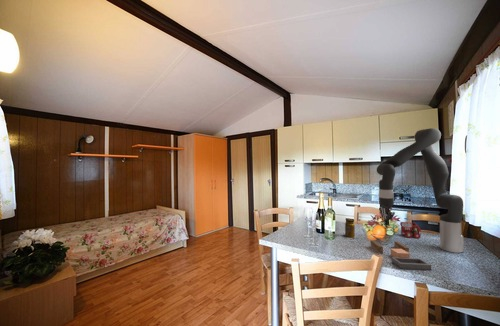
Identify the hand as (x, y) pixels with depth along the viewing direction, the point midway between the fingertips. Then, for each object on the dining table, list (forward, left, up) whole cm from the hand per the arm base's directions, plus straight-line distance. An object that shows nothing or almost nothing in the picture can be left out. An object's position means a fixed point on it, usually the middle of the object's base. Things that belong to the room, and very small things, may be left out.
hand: (386, 225), depth 123 cm
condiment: (+14, -21, -15) cm, 29 cm away
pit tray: (0, +21, -14) cm, 25 cm away
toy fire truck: (-30, -25, -15) cm, 42 cm away
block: (0, +11, -15) cm, 19 cm away
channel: (0, +2, -14) cm, 15 cm away
